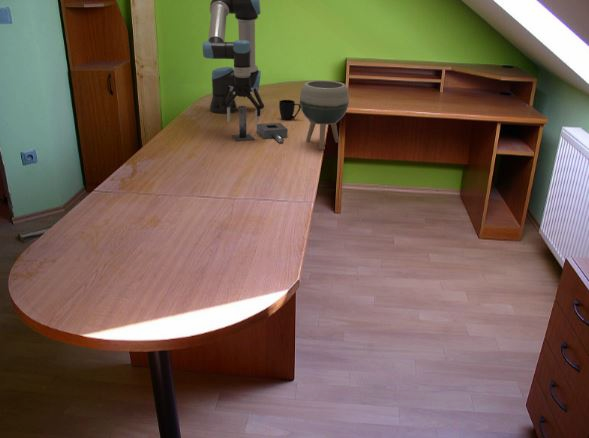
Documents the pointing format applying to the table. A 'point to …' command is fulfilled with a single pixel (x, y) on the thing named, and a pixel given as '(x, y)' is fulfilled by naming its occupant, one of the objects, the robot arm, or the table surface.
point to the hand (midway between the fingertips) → (242, 122)
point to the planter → (324, 106)
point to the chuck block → (272, 131)
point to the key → (242, 122)
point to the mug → (287, 109)
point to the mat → (242, 138)
